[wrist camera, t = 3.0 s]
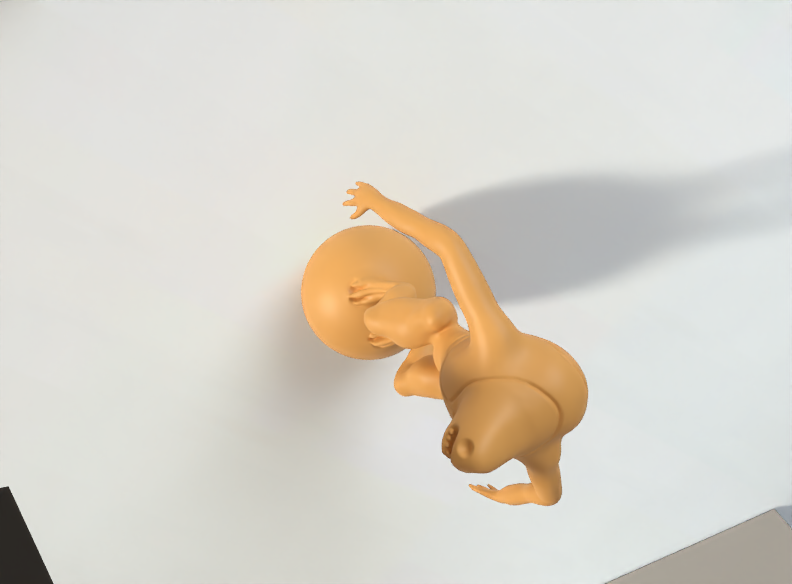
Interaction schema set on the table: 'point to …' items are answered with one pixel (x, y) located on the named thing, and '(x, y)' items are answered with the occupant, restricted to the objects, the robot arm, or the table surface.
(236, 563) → the table surface
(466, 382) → the figurine
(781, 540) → the icon cube
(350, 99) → the table surface
